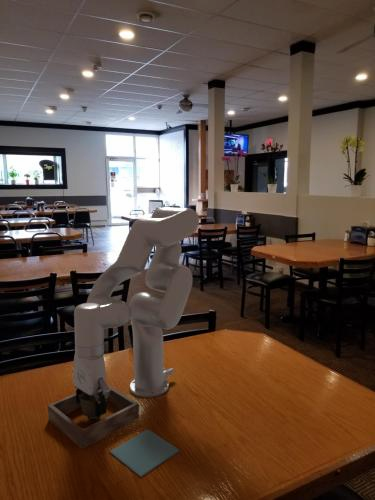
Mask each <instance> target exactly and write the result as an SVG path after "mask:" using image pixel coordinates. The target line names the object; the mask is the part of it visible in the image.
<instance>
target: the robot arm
mask: <svg viewBox="0 0 375 500" xmlns="http://www.w3.org/2000/svg"><path fill="white" fill-rule="evenodd" d="M199 224H200V217H199V215H198V213H197V212H196V211H195V210H194V209H193V208H190V207H189V208H188V207H170V206H168V207H167V206H165V207H158V208H156V209H155V210H154V211H153V212H152V214H151V217H139V218H137V219H136V220H135V221H133V223H132V225H131V227H130V229H129V231H128V233H127V236H126V239H125V241H124V243H123V245H122V247H121V250H120V252H119V253H118V254H119V255H118V257H117V259H116V261H115V262H114V263H113V264H111V265H110V266H108V268H106V270H105V271H104V272H102V274H100V275H99V277H98V278H97V279H96V280H95V282H94V283H93V286H92V288H91V290H90V291H89V294H88V297H87V300H86V302H84V303H81V304H78V305H76V307H75V308H74V310H73V311H74V313H73V317H74V318H73V320H74V321H73V322H74V350H75V352H74V356H73V357H74V358H73V365H72V366H73V370H72V376H73V377H72V379H73V385H74V388H75V393H76V402H77V403H80V399H79V394H80V395H81V394H82V391H83V392H85V393H86V394H88V395H90V396H92V395H93V394H94V397H95V399H96V403H95V416H96V417H99V416H101V417H102V416H103V415H106V413H107V399H108V398H109V394H110V389H109V387H108V386H107V385H108V384H107V373H106V371H107V369H106V364H105V363H106V362H105V358H104V357H105V356H104V354H105V351H104V350H105V347H104V345H105V344H104V340H105V339H104V330H105V329H112V328H119V327H122V326H124V325H126V324H127V323H128V322H129V321H130V322H131V328H132V348H133V351H132V352H133V375H134V376H133V378H134V379H133V380H132V381H131V382H130V384H129V391H130V392H131V393H132V394H133V395H135V396H137V397H142V398H153V397H157V396H158V397H159V396H160V395H163V394H164V393H166V392H167V391H168V390H169V388H170V383H169V380H168V377H169V376H171V375H174V374H175V369H174V368H173V367H172V368H171V367H170V368H169V369H167V367H164V365H165V364H164V334H163V330H162V329H164V330H171V329H173V328H175V327H176V326H177V325H178V323H179V321H180V319H181V318H182V316H183V312H184V311H185V307H186V306H187V305H186V304H187V302H188V299H189V296H190V293H191V290H192V287H193V273H192V270H191V269H190V268H189V266H186V265H185V264H181V263H179V262H180V259H181V255H182V246H181V241H183V240H184V239H187V238H189V237H190V236H192V235H193V234H194V233H195V232H196V231H197V229H198V228H199ZM154 247H155V250H154V253H153V256H152V257H151V261H150V263H149V265H148V268H147V270H146V274H145V278H144V282H145V285H146V286H147V287H148V288H149V289H150V290H151V289H152V290H153V291H157V292H162V293H164V295H160V294H157V293H152V292H147V291H144V292H143V291H141V292H138V293H136V294H134V295H133V296H132V297H131V298H130V300H129V304H128V303H127V302H125V301H123V300H122V299H117V298H114V297H111V296H112V294H113V292H114V291H115V289H116V288H117V287H118V286H119V285H120V284H122V283H123V282H125V281H127V280H129V279H131V278H134V277H136V276H139V275H140V274H143V272H144V271H145V269H146V267H147V263H148V262H149V261H148V260H149V258H150V256H151V254H152V252H153V249H154ZM97 388H99V389H100V390H97ZM100 392H101V393H102V395H101V397H100V398H99V396H98V393H100Z"/></svg>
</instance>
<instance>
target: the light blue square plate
mask: <svg viewBox="0 0 375 500" xmlns="http://www.w3.org/2000/svg"><path fill="white" fill-rule="evenodd" d="M179 452H180V449H179V448H177V447H176V446H174V445H172V444H171V443H169V442H168V441H166V440H165V439H164V438H163V437H161V436H159V435H157V434H156V433H154V432H153V431H152V430H150V429H148V428H147V429H146V430H143V431H142V432H140V433H139V434H137V435H135V436H133V437H132V438H130V439H129V440H127V441H124V442H123V443H121V444H120V445H118V446H116V447H115V448H113V449H112V450H110V451H109V453H110V454H111V455H112V456H114V457H115V458H116V459H117V460H118V461H120V462H121V463H122V464H124V466H126V467H127V468H129V470H131V471H132V472H134V473H135V474H136V475H137V476H139V477H140V478H143V477H144V476H145V475H147V474H148V473H149V472H151V471H153V470H155V468H158V466H160V465H161V464H163V463H164V462H166V461H167V460H168V459H170V458H172V457H173V456H174V455H176V454H177V453H179Z"/></svg>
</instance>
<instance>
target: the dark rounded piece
mask: <svg viewBox="0 0 375 500" xmlns="http://www.w3.org/2000/svg"><path fill="white" fill-rule="evenodd" d="M97 390H100V389H99V388H97ZM101 395H102V393H101V392H100V393H98V396H99V398H100V397H101ZM79 399H80V404H81V408H80V409H81V412H82V413H83V415H84V416H85V417H86V418H87V421H88V422H91V423H94V422H95V423H96V422H98V421H100V420H101V417H102V415H101V416H99V417H96V416H95V403H96V399H95V397H94V394H93V395H92V396H90V395H88V394H86V393H85V392H83V391H82V394H81V395H80V394H79Z"/></svg>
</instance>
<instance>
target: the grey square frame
mask: <svg viewBox="0 0 375 500" xmlns="http://www.w3.org/2000/svg"><path fill="white" fill-rule="evenodd" d="M107 386H108V387H109V389H110V394H109V398H108V399H107V400H106V402H109V403H110V404H111V405H113V406H114V407H115V408H118V409H119V411H117V412H115V413H112V414H110V415H108V416H107V417H105V418H102V419H99V420H98V421H96V422H95V423H94V422H93V424H90V425H89V426H87V427H85V428H82V427H81V426H80V425H78V424H77V423H76V422H74V421H73V420H72V419H71V418H70V417H68V416H66V415H68V414H70V413H72V412H74V411H77V410H79V409H81V404H80V403H77V402H76V392H75V393H73V394H71V395H68V396H66V397H64V398H61V399H60V400H57V401H55V402H52V403H50V404H48V405H47V414H48V415H47V416H48V421H49V422H50V423H51V424H53V426H55V427H56V428H57V429H58V430H60V431H61V433H63V434H64V435H65V436H66V437H68V438H69V440H71V441H72V442H73V443H74V444H76V445H77V446H78V447H79V448H80V449H81V450H85V449H86V448H87V447H89V446H91V445H93V444H96V443H97V442H98V441H100V440H103V439H104V438H105V437H108V436H110V435H111V434H114V433H115V432H117V431H119V430H121V429H122V428H124V427H127V426H128V425H130V424H131V423H133V422H135V421H137V420H139V419H140V403H138V402H137V401H135V400H134V399H133V398H130V397H129V396H127V395H125V394H124V393H122V392H121V391H118V390H117V389H115V388H114V387H112V386H110V385H109V384H107Z"/></svg>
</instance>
